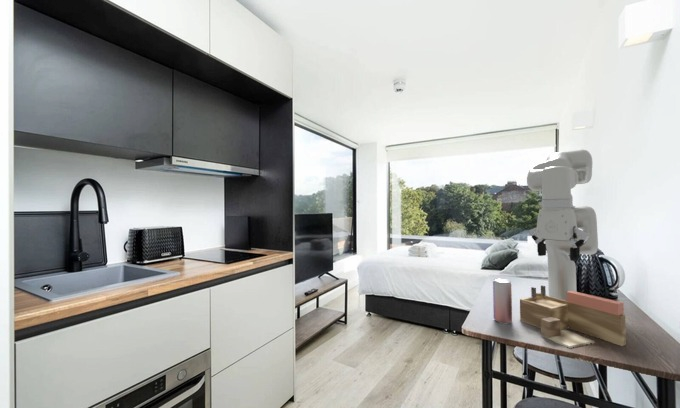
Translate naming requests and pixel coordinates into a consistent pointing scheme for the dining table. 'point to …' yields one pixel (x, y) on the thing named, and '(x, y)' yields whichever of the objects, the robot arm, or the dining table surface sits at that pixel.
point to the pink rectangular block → (595, 302)
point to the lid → (561, 334)
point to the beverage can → (502, 301)
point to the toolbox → (573, 317)
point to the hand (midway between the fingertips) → (557, 257)
